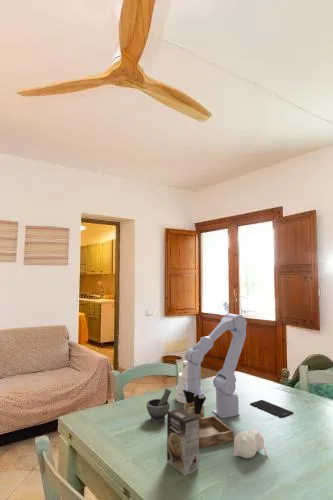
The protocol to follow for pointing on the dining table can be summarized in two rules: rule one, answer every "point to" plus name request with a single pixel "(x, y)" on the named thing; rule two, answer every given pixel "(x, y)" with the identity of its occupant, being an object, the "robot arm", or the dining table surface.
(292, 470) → the dining table surface
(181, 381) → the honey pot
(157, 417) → the mortar and pestle
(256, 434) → the cat figurine
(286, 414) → the cell phone
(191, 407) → the small crate
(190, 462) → the coffee box
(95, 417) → the dining table surface
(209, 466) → the dining table surface
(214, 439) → the large crate
